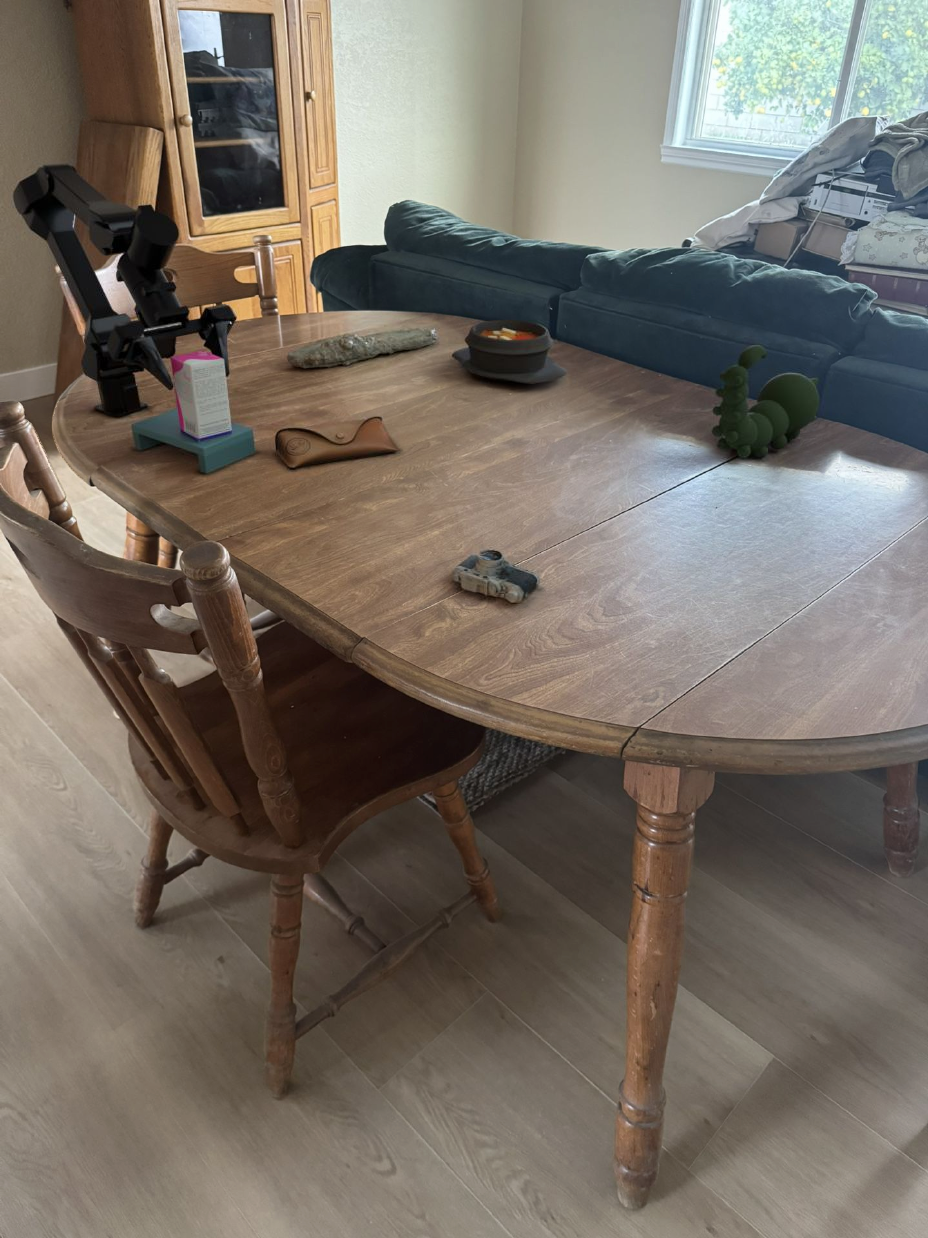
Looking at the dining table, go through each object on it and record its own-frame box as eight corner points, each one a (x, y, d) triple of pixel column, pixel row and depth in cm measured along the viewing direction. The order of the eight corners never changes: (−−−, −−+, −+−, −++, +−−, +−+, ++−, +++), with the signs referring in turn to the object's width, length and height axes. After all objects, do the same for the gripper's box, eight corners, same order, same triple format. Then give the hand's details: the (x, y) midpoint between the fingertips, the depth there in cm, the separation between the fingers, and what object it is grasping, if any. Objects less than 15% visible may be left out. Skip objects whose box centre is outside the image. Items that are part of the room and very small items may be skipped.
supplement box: (234, 433, 137) (225, 357, 131) (199, 443, 133) (188, 365, 127) (213, 422, 140) (204, 348, 134) (179, 432, 137) (167, 356, 131)
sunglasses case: (290, 468, 135) (281, 423, 134) (281, 475, 141) (271, 433, 141) (402, 450, 142) (393, 407, 141) (388, 457, 148) (379, 417, 148)
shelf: (135, 448, 141) (130, 424, 139) (185, 429, 148) (181, 406, 146) (206, 473, 134) (203, 448, 132) (255, 453, 141) (253, 428, 139)
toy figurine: (741, 483, 139) (833, 434, 152) (758, 363, 128) (857, 320, 141) (692, 464, 145) (785, 417, 158) (704, 348, 134) (803, 307, 147)
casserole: (587, 379, 175) (591, 335, 170) (518, 400, 164) (520, 353, 160) (498, 349, 190) (500, 308, 186) (430, 366, 180) (430, 323, 175)
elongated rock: (448, 352, 192) (420, 343, 198) (449, 326, 189) (420, 318, 196) (304, 374, 172) (277, 363, 178) (302, 345, 169) (276, 336, 176)
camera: (520, 610, 104) (522, 578, 102) (446, 583, 109) (446, 553, 107) (542, 591, 108) (544, 560, 106) (469, 566, 113) (469, 536, 110)
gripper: (191, 310, 145) (237, 395, 145) (79, 331, 134) (128, 423, 133) (212, 267, 136) (261, 358, 136) (93, 286, 125) (146, 384, 125)
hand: (200, 381), depth 133 cm, fingers open, 9 cm apart
